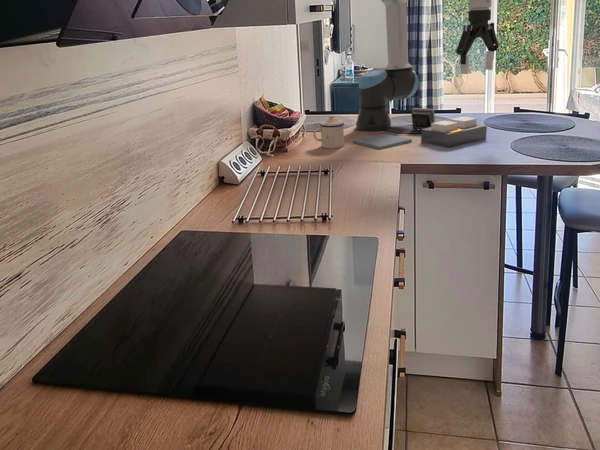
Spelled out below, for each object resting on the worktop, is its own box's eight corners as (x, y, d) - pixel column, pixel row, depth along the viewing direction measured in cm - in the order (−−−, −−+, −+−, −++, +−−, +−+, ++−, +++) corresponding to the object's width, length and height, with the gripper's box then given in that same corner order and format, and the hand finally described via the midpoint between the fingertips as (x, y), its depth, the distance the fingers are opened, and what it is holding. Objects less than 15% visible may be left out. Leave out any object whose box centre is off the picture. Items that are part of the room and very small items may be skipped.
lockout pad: (352, 142, 226) (352, 140, 225) (384, 136, 234) (383, 133, 233) (379, 149, 213) (379, 146, 213) (411, 141, 221) (411, 139, 221)
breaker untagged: (450, 126, 221) (450, 119, 220) (462, 123, 224) (462, 116, 223) (463, 128, 215) (464, 121, 214) (476, 125, 219) (476, 118, 218)
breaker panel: (421, 142, 220) (421, 128, 218) (457, 133, 230) (458, 120, 228) (448, 148, 208) (449, 133, 207) (486, 138, 218) (486, 124, 217)
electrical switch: (436, 129, 239) (435, 107, 235) (431, 133, 235) (431, 111, 231) (414, 128, 244) (414, 106, 240) (409, 132, 240) (409, 110, 236)
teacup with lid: (341, 142, 227) (340, 112, 223) (347, 147, 219) (346, 116, 215) (311, 145, 226) (310, 115, 221) (316, 150, 217) (315, 119, 213)
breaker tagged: (431, 130, 216) (431, 123, 215) (444, 127, 219) (444, 120, 218) (444, 133, 210) (445, 125, 209) (457, 130, 214) (458, 122, 213)
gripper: (464, 10, 192) (461, 76, 199) (511, 6, 205) (507, 68, 212) (447, 11, 198) (445, 74, 205) (493, 7, 211) (490, 67, 218)
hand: (476, 71), depth 209 cm, fingers open, 13 cm apart
